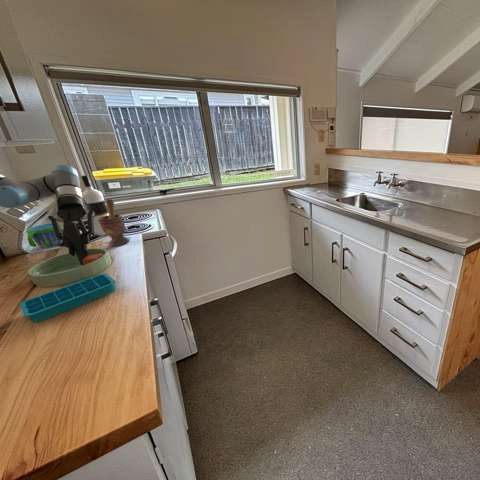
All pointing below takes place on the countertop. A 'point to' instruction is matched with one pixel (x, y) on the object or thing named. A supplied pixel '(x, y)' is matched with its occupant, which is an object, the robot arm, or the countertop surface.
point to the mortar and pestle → (113, 225)
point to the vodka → (94, 204)
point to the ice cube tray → (67, 297)
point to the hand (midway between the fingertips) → (78, 252)
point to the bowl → (67, 269)
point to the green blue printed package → (43, 236)
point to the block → (91, 258)
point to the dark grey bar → (75, 240)
